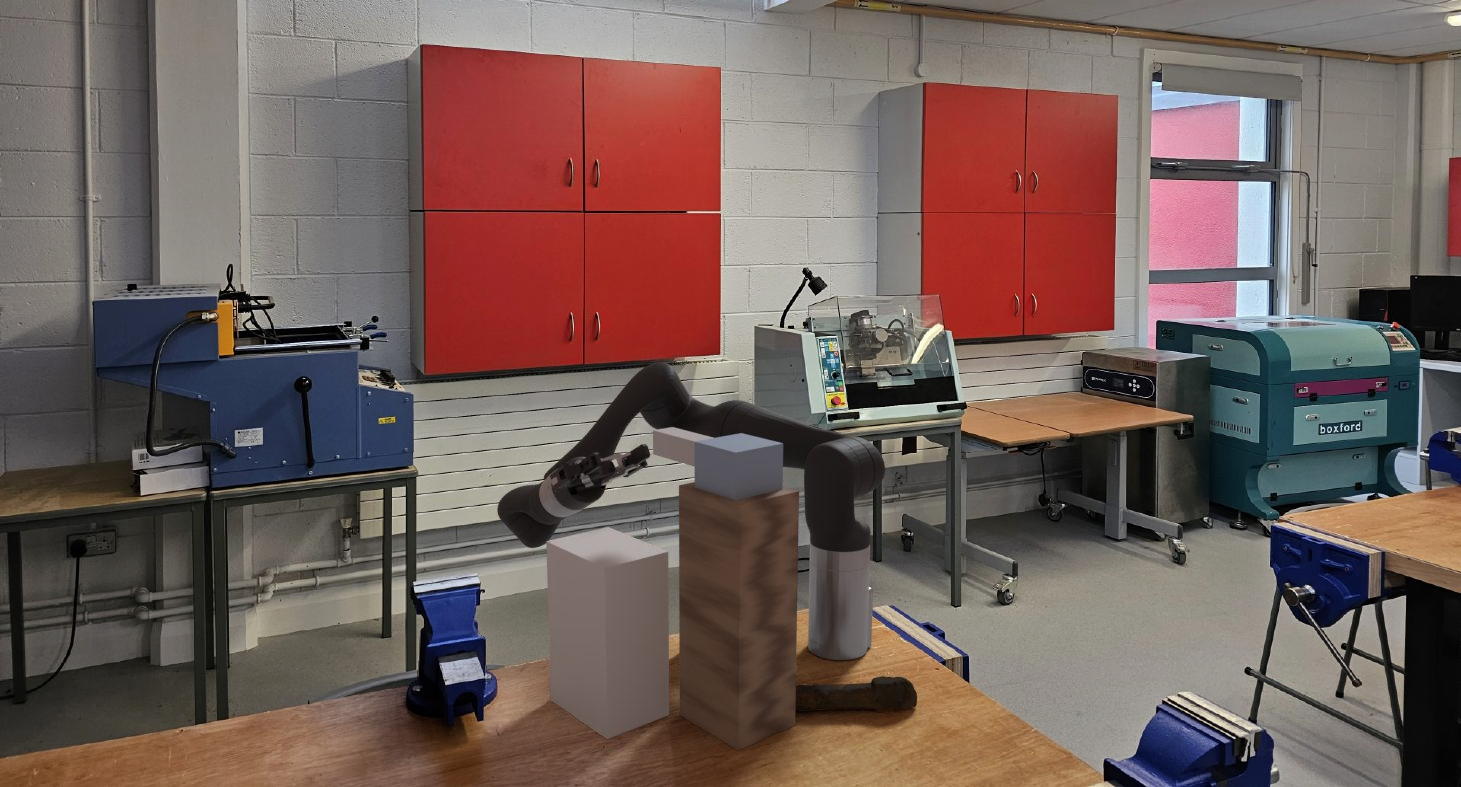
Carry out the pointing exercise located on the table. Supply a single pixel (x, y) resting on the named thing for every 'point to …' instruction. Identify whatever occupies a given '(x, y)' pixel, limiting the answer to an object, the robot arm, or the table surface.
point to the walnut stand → (738, 612)
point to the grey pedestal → (608, 629)
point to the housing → (725, 461)
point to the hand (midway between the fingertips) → (623, 454)
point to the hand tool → (858, 696)
